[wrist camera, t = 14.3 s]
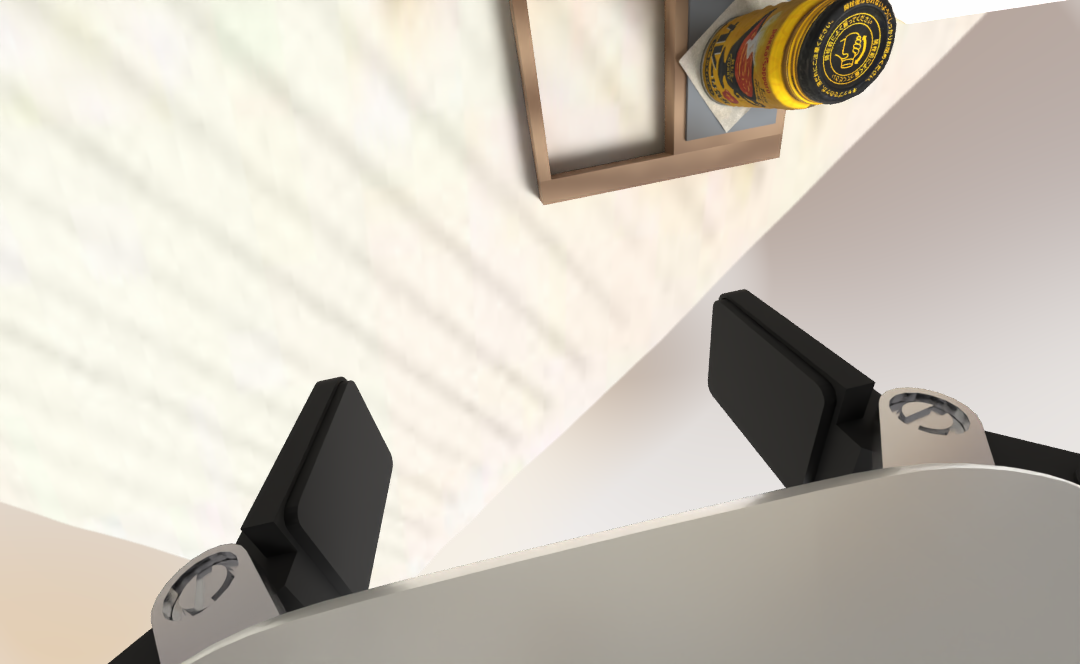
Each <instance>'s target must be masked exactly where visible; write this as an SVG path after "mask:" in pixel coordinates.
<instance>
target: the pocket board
mask: <svg viewBox="0 0 1080 664" xmlns="http://www.w3.org/2000/svg"><path fill="white" fill-rule="evenodd" d="M734 1H735V0H665V152H663V153H658V154H653V155H648V156H643V157H638V158H633V159H628V160H623V161H618V162H613V163H608V164H603V165H598V166H593V167H588V168H583V169H578V170H573V171H568V172H563V173H558V174H553V175H551V173H550V166H549V159H548V152H547V145H546V137H545V130H544V123H543V116H542V109H541V102H540V95H539V87H538V80H537V73H536V66H535V59H534V52H533V44H532V37H531V30H530V23H529V16H528V9H527V1H526V0H509V4H510V10H511V17H512V23H513V29H514V36H515V42H516V48H517V55H518V61H519V68H520V74H521V80H522V87H523V93H524V99H525V106H526V112H527V118H528V125H529V131H530V138H531V144H532V150H533V157H534V163H535V169H536V176H537V182H538V188H539V195H540V200H541V202H542V203H543V205H547V204H552V203H557V202H562V201H567V200H572V199H577V198H582V197H587V196H592V195H596V194H601V193H606V192H611V191H616V190H621V189H626V188H631V187H636V186H641V185H646V184H651V183H656V182H660V181H665V180H670V179H675V178H680V177H685V176H690V175H695V174H700V173H705V172H710V171H715V170H720V169H724V168H729V167H734V166H739V165H744V164H749V163H754V162H759V161H764V160H769V159H774V158H779V156H780V149H781V141H782V134H783V126H784V119H785V112H786V110H784V109H775V108H774V109H765V108H753V107H751V108H750V110H749V111H748V112H747V113H746V114H744V115H743V116H742V117H741V118H740V120H739V121H738V122H737V123H736V124H735V125H734V126H733V127H732V128H731V129H730V130H729V131H728V132H727V133H726V131H725V130H724V128H723V127H722V125H721V124H720V122H719V121H718V119H717V118H716V117H715V115H714V114H713V113H712V111H711V110H710V108H709V107H708V105H707V104H706V102H705V101H704V99H703V98H702V96H701V95H700V93H699V92H698V90H697V89H696V87H695V86H694V84H693V83H692V81H691V79H690V78H689V77H688V75H687V73H686V72H685V70H684V69H683V67H682V66H681V64H680V63H679V61H680V59H681V58H682V57H683V56H684V55H685V53H686V52H687V51H688V50H689V49H690V48H691V47H692V46H693V45H694V44H695V42H696V41H697V40H698V39H699V38H700V37H701V36H702V35H703V34H704V33H705V32H706V30H707V29H708V28H709V27H710V26H711V25H712V24H713V23H714V22H715V21H716V20H717V18H718V17H719V16H720V15H721V14H722V13H723V12H724V11H725V10H726V9H727V8H728V7H729V6H730V5H731V4H732V2H734ZM787 1H791V0H787Z"/></svg>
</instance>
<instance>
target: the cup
mask: <svg viewBox="0 0 1080 664" xmlns="http://www.w3.org/2000/svg"><path fill="white" fill-rule="evenodd" d="M888 1H889V2H890V4H891V5H892V9H893V12H894V14H895V17H896V18H897V19H899V20H901V21H903V22H904V23H906V24H910V23H917V22H923V21H930V20H937V19H943V18H950V17H957V16H963V15H970V14H977V13H984V12H990V11H996V10H1004V9H1010V8H1016V7H1024V6H1030V5H1037V4H1044V3H1050V2H1056V1H1064V0H888Z"/></svg>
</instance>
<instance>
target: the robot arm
mask: <svg viewBox="0 0 1080 664" xmlns="http://www.w3.org/2000/svg"><path fill="white" fill-rule="evenodd" d="M874 384H875V382H874V381H873V380H871V379H870V378H868V377H867V376H866V375H864V374H863V373H862V372H860V371H859V370H857V369H856V368H854V367H853V366H852V365H850V364H849V363H848V362H846V361H845V360H843V359H842V358H841V357H839V356H838V355H837V354H835V353H834V352H832V351H831V350H830V349H828V348H826V347H825V346H824V345H823V344H821V343H820V342H819V341H817V340H816V339H814V338H813V337H812V336H810V335H809V334H807V333H806V332H805V331H803V330H802V329H800V328H799V327H798V326H796V325H795V324H794V323H792V322H791V321H789V320H788V319H787V318H785V317H784V316H782V315H781V314H779V313H778V312H777V311H775V310H774V309H773V308H771V307H770V306H768V305H767V304H766V303H764V302H763V301H761V300H760V299H759V298H757V297H756V296H754V295H753V294H752V293H750V292H749V291H747V290H745V289H743V290H738V291H733V292H728V293H724V294H722V295H720V297H719V300H718V301H715V302H714V304H713V315H712V328H711V343H710V358H709V372H708V387H709V390H710V392H711V394H712V396H713V397H714V398H715V399H716V401H717V402H718V403H719V404H720V406H721V407H722V408H723V409H724V410H725V412H726V413H727V414H728V416H729V417H730V418H731V419H732V421H733V422H734V423H735V424H736V426H737V427H738V428H739V429H740V431H741V432H742V433H743V435H744V436H745V437H746V438H747V439H748V441H749V442H750V443H751V445H752V446H753V447H754V448H755V450H756V451H757V452H758V453H759V455H760V456H761V457H762V458H763V460H764V461H765V462H766V463H767V465H768V466H769V467H770V468H771V470H772V471H773V472H774V473H775V474H776V476H777V477H778V478H779V480H780V481H781V482H782V483H783V485H784V486H785V487H786V488H784V489H780V490H775V491H771V492H768V493H763V494H759V495H754V496H750V497H746V498H742V499H737V500H733V501H729V502H724V503H720V504H716V505H712V506H707V507H703V508H699V509H695V510H690V511H686V512H682V513H678V514H673V515H669V516H665V517H661V518H657V519H652V520H649V521H644V522H640V523H636V524H631V525H627V526H623V527H619V528H615V529H611V530H607V531H602V532H598V533H595V534H590V535H586V536H582V537H577V538H573V539H569V540H565V541H561V542H557V543H553V544H548V545H544V546H540V547H536V548H532V549H528V550H524V551H520V552H515V553H512V554H508V555H503V556H499V557H495V558H491V559H487V560H483V561H479V562H475V563H471V564H467V565H463V566H459V567H455V568H451V569H447V570H443V571H438V572H434V573H430V574H426V575H422V576H418V577H414V578H410V579H406V580H402V581H398V582H394V583H391V584H387V585H383V586H379V587H375V588H372V589H368V588H369V583H370V578H371V573H372V568H373V563H374V558H375V553H376V548H377V543H378V538H379V533H380V528H381V523H382V518H383V513H384V508H385V503H386V498H387V493H388V488H389V483H390V478H391V473H392V468H393V461H392V456H391V453H390V451H389V449H388V447H387V445H386V443H385V441H384V440H383V438H382V436H381V434H380V432H379V430H378V428H377V426H376V424H375V422H374V420H373V418H372V416H371V414H370V412H369V410H368V408H367V406H366V404H365V402H364V400H363V398H362V396H361V394H360V392H359V390H358V388H357V386H356V384H355V383H354V382H353V381H351V380H350V381H347V380H346V379H345V378H344V377H337V378H333V379H328V380H323V381H319V382H317V383H316V384H315V386H314V388H313V390H312V392H311V394H310V396H309V398H308V400H307V402H306V404H305V405H304V407H303V409H302V411H301V413H300V415H299V417H298V419H297V421H296V423H295V425H294V427H293V429H292V430H291V432H290V434H289V436H288V438H287V440H286V442H285V444H284V446H283V448H282V450H281V452H280V454H279V455H278V457H277V459H276V461H275V463H274V465H273V467H272V469H271V471H270V473H269V475H268V477H267V479H266V481H265V482H264V484H263V486H262V488H261V490H260V492H259V494H258V496H257V498H256V500H255V502H254V504H253V506H252V507H251V509H250V511H249V513H248V515H247V517H246V519H245V521H244V523H243V525H242V527H241V530H242V533H241V535H240V536H239V538H238V540H237V542H236V544H232V543H231V544H225V545H220V546H217V547H215V548H212V549H210V550H207V551H205V552H204V553H202V554H200V555H199V556H197V557H195V558H194V559H192V560H191V561H190V562H189V563H187V564H186V565H185V566H184V567H183V568H181V569H180V570H179V571H178V572H177V573H176V574H175V575H174V576H173V577H172V578H171V579H170V580H169V581H168V582H167V583H166V585H165V586H164V588H163V589H162V591H161V592H160V594H159V595H158V597H157V599H156V601H155V603H154V606H153V608H152V613H151V624H152V629H150V630H149V631H148V632H146V633H145V634H144V635H143V636H141V637H140V638H139V639H138V640H137V641H135V642H134V643H133V644H132V645H130V646H129V647H128V648H127V649H125V650H124V651H123V652H122V653H121V654H119V655H118V656H117V657H116V658H114V659H113V660H112V661H111V662H109V663H108V664H1080V454H1079V453H1074V452H1070V451H1066V450H1062V449H1058V448H1053V447H1050V446H1046V445H1041V444H1037V443H1033V442H1029V441H1025V440H1021V439H1017V438H1012V437H1008V436H1004V435H1000V434H996V433H992V432H987V431H984V429H983V426H982V423H981V421H980V419H979V418H978V416H977V415H976V414H975V413H974V412H973V411H972V410H971V409H970V408H968V407H967V406H966V405H964V404H962V403H961V402H959V401H957V400H955V399H954V398H951V397H948V396H946V395H943V394H941V393H938V392H934V391H930V390H926V389H919V388H909V387H907V388H896V389H892V390H889V391H886V392H885V393H884V394H883V395H881V394H880V393H878V392H877V391H875V390H874V389H873V387H874Z"/></svg>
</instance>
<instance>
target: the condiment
mask: <svg viewBox="0 0 1080 664" xmlns="http://www.w3.org/2000/svg"><path fill="white" fill-rule="evenodd" d="M895 32H896V19H895V14H894V12H893V9H892V5H891V4H890V2H889V1H888V0H791V1H787V0H735V1H734V2H732V4H731V5H730V6H729V7H728V8H727V9H726V10H725V11H724V12H723V13H722V14H721V15H720V16H719V17H718V18H717V20H716V21H715V22H714V23H713V24H712V25H711V26H710V27H709V28H708V29H707V30H706V32H705V33H704V34H703V35H702V36H701V37H700V38H699V39H698V40H697V41H696V42H695V44H694V45H693V46H692V47H691V48H690V49H689V50H688V51H687V52H686V53H685V55H684V56H683V57H682V58H681V59H680V61H679V63H680V64H681V66H682V67H683V69H684V70H685V72H686V73H687V75H688V77H689V78H690V79H691V81H692V83H693V84H694V86H695V87H696V89H697V90H698V92H699V93H700V95H701V96H702V98H703V99H704V101H705V102H706V104H707V105H708V107H709V108H710V110H711V111H712V113H713V114H714V115H715V117H716V118H717V119H718V121H719V122H720V124H721V125H722V127H723V128H724V130H725V131H726V133H727V132H728V131H729V130H730V129H731V128H732V127H733V126H734V125H735V124H736V123H737V122H738V121H739V120H740V118H741V117H742V116H743V115H744V114H746V113H747V112H748V111H749V110H750V108H751V107H753V108H765V109H774V108H775V109H784V110H795V109H805V108H809V107H813V106H815V105H819V104H830V105H831V104H836V103H840V102H843V101H846V100H848V99H850V98H852V97H854V96H857V95H859V94H860V93H862V92H863V91H864V90H865V89H866V88H867V87H868V86H869V85H870V84H871V83H872V82H873V81H874V80H875V79H876V78H877V77H878V76H879V74H880V73H881V72H882V70H883V69H884V67H885V65H886V63H887V61H888V60H889V56H890V53H891V50H892V46H893V43H894V38H895Z"/></svg>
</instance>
